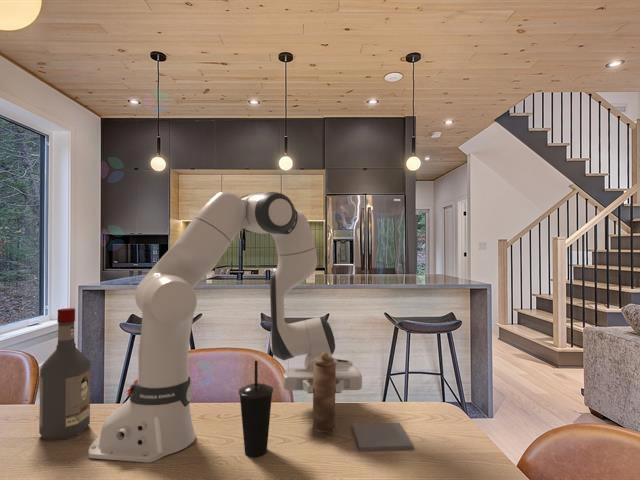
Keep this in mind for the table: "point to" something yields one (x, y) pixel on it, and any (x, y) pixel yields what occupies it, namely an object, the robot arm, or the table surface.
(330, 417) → the pepper mill
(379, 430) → the trivet
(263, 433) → the drinking cup
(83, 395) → the liquor
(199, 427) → the table surface
